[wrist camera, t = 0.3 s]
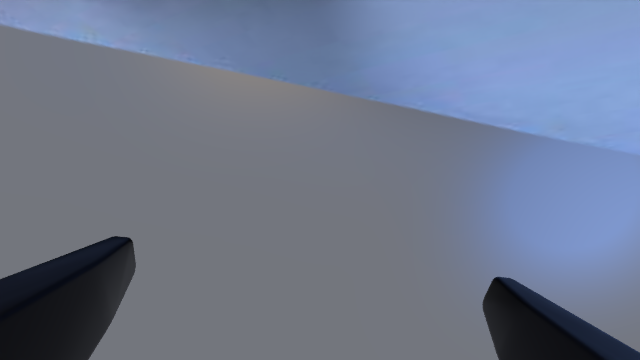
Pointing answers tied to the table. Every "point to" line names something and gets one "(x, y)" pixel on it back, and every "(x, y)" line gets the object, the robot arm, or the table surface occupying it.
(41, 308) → the robot arm
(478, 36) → the table surface
